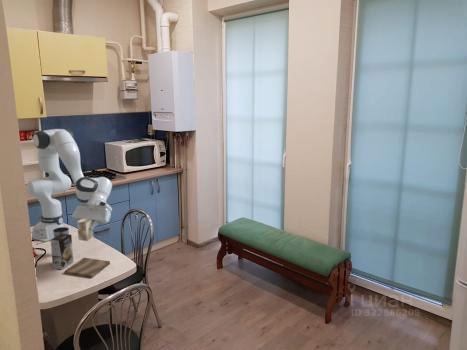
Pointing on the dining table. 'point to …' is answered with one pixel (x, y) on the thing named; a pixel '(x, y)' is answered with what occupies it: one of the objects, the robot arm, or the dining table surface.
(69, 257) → the coffee box
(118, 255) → the dining table surface
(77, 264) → the walnut board
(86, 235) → the maple block
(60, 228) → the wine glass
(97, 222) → the robot arm
